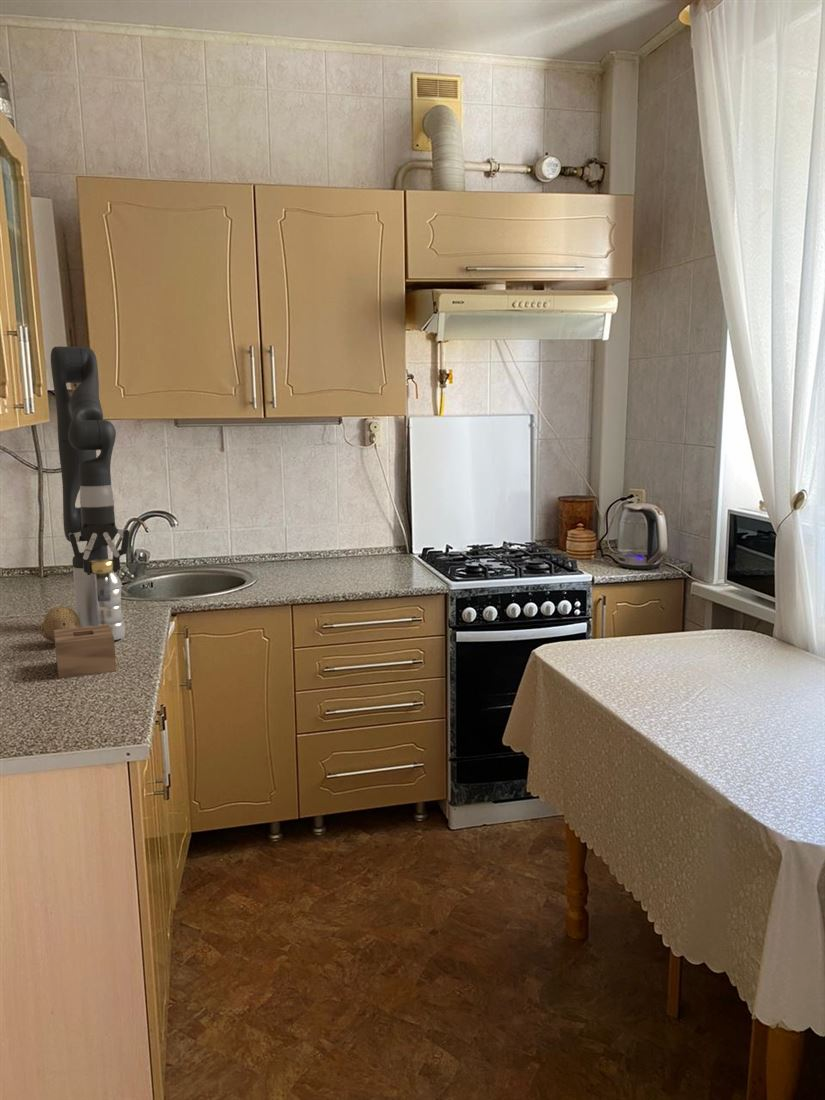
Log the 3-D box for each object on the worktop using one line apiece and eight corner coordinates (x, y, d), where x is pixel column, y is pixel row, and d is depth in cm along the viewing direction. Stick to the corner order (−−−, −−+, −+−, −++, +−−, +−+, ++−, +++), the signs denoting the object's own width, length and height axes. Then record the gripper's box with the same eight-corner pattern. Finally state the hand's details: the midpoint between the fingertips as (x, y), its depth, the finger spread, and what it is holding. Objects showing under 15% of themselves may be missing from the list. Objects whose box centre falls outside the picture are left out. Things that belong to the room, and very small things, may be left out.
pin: (91, 599, 205) (88, 559, 204) (115, 596, 207) (112, 558, 206) (92, 603, 200) (90, 563, 199) (117, 601, 202) (114, 561, 201)
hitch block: (56, 663, 195) (54, 630, 194) (110, 656, 200) (108, 624, 199) (58, 678, 184) (55, 643, 182) (116, 671, 189) (113, 636, 187)
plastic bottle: (116, 635, 221) (110, 560, 217) (131, 639, 216) (125, 563, 213) (94, 640, 216) (87, 564, 212) (109, 644, 211) (102, 567, 208)
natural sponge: (86, 645, 211) (83, 606, 210) (49, 651, 206) (46, 612, 204) (75, 638, 218) (72, 601, 217) (39, 644, 213) (35, 606, 211)
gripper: (126, 501, 207) (131, 568, 209) (64, 504, 201) (69, 573, 203) (130, 503, 200) (135, 573, 202) (65, 507, 194) (71, 578, 196)
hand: (102, 573), depth 203 cm, fingers closed on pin, 5 cm apart
